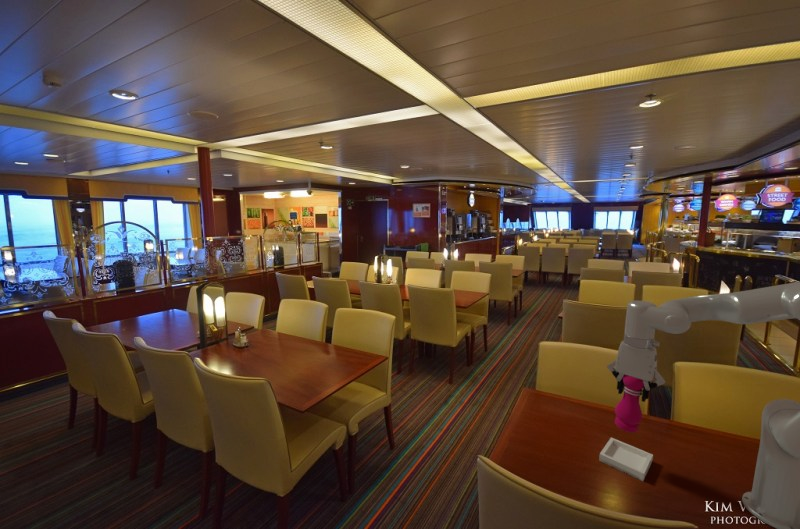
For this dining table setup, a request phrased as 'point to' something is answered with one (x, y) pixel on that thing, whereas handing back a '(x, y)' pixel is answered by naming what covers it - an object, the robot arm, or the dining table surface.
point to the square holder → (626, 458)
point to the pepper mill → (629, 405)
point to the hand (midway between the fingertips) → (632, 395)
